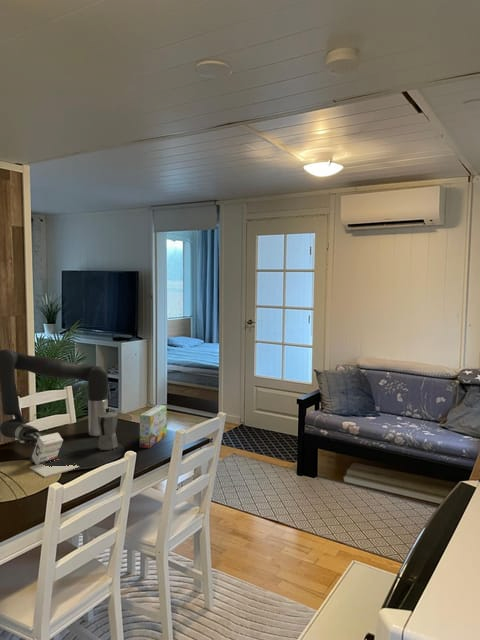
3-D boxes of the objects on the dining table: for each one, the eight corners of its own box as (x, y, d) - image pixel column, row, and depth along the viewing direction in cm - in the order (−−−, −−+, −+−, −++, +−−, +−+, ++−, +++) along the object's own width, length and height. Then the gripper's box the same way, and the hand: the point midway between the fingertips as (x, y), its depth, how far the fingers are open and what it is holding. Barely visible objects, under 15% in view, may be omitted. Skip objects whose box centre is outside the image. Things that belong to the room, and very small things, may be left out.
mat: (63, 459, 195) (63, 458, 195) (79, 467, 186) (79, 466, 186) (29, 468, 185) (29, 466, 185) (44, 477, 176) (44, 476, 176)
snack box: (150, 448, 209) (150, 415, 209) (139, 447, 211) (138, 414, 210) (167, 435, 230) (167, 404, 229) (156, 434, 231) (156, 404, 231)
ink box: (51, 451, 197) (58, 431, 192) (56, 460, 195) (63, 439, 190) (31, 457, 191) (38, 436, 186) (36, 465, 188) (43, 445, 183)
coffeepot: (102, 443, 217) (101, 404, 216) (122, 443, 217) (121, 404, 216) (91, 454, 202) (90, 413, 201) (112, 454, 202) (112, 413, 201)
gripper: (11, 428, 199) (27, 437, 187) (42, 422, 208) (59, 430, 196) (11, 446, 199) (27, 455, 187) (42, 439, 209) (59, 448, 197)
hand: (43, 442), depth 192 cm, fingers closed
